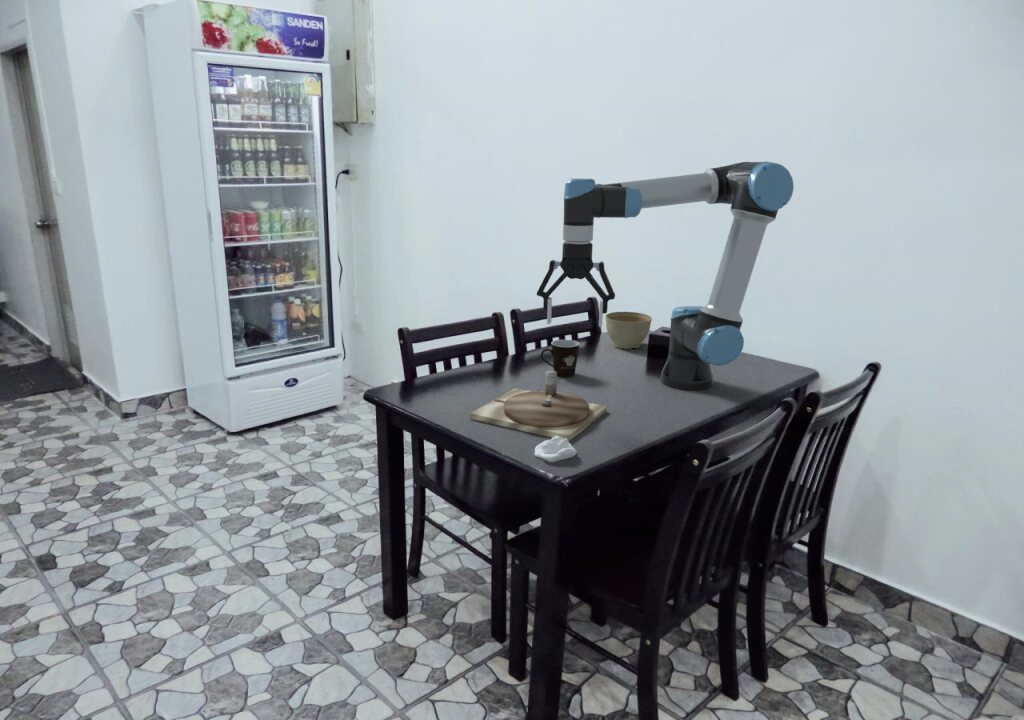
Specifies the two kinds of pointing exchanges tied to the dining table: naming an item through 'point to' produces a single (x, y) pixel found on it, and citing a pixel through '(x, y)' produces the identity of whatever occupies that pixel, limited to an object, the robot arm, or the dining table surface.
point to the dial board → (496, 416)
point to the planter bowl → (627, 328)
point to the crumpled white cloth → (555, 449)
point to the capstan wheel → (546, 406)
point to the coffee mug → (563, 357)
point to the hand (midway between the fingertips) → (574, 324)
